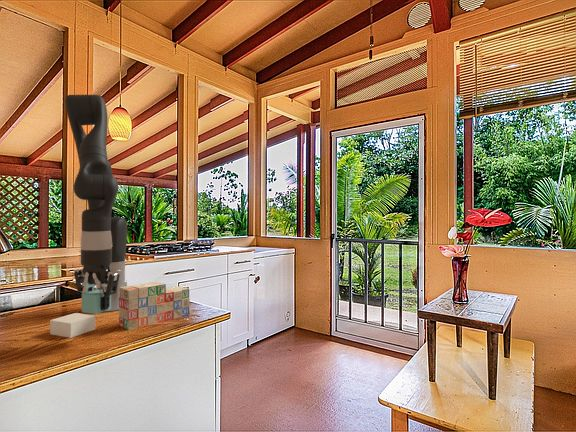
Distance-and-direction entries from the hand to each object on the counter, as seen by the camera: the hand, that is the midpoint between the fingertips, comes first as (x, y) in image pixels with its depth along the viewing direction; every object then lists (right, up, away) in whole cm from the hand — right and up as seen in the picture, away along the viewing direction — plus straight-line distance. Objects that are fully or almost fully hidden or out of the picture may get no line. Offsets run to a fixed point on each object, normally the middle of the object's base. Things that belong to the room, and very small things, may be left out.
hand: (96, 308), depth 96 cm
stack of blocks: (+10, -9, +18) cm, 22 cm away
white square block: (-10, -8, +6) cm, 14 cm away
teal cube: (0, -1, 0) cm, 1 cm away
